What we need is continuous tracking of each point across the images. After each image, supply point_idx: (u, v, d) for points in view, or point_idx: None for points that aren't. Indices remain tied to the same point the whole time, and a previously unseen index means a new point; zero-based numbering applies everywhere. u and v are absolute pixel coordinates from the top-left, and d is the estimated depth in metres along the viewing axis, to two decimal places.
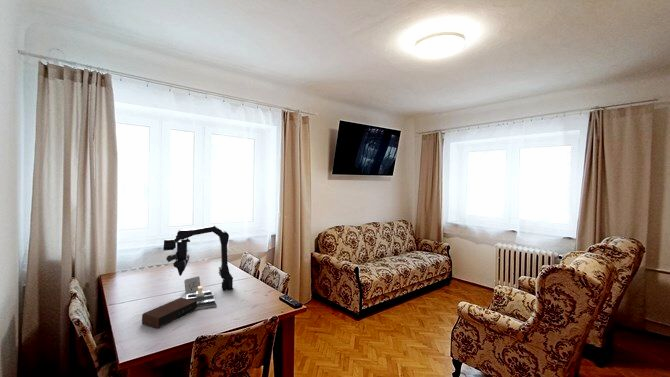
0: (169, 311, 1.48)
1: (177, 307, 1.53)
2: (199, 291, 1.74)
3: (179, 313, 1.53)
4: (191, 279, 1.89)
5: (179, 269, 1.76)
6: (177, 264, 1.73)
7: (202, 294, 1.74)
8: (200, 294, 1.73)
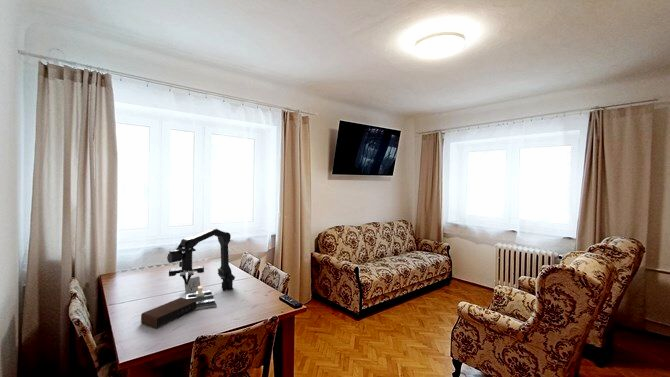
0: (167, 311, 1.48)
1: (176, 307, 1.52)
2: (199, 291, 1.74)
3: (178, 313, 1.52)
4: (191, 279, 1.89)
5: None
6: None
7: (202, 294, 1.74)
8: (200, 294, 1.73)
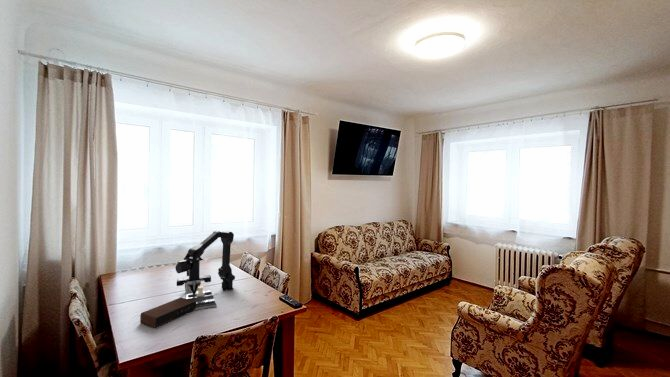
0: (166, 311, 1.48)
1: (176, 307, 1.52)
2: (199, 291, 1.74)
3: (177, 313, 1.52)
4: None
5: None
6: None
7: (202, 294, 1.74)
8: (200, 294, 1.74)
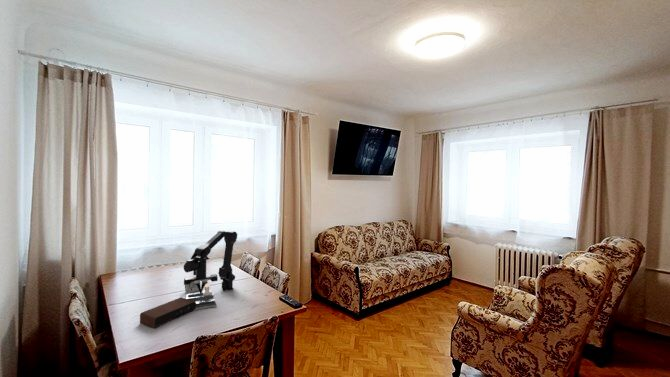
0: (166, 311, 1.48)
1: (175, 307, 1.52)
2: (206, 290, 1.75)
3: (177, 313, 1.52)
4: None
5: None
6: None
7: (209, 293, 1.76)
8: (207, 293, 1.75)
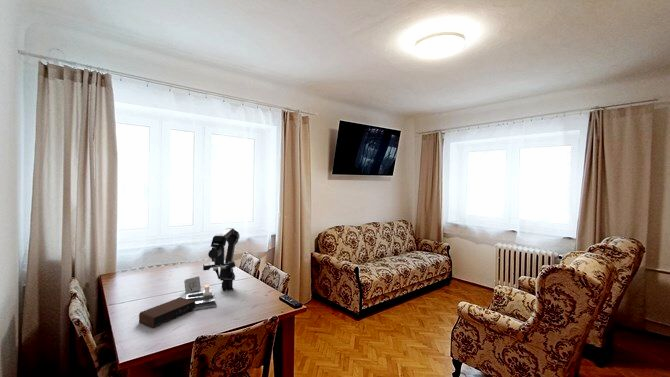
0: (165, 311, 1.48)
1: (174, 307, 1.53)
2: (206, 290, 1.75)
3: (176, 313, 1.52)
4: (191, 279, 1.89)
5: None
6: None
7: (209, 293, 1.76)
8: (207, 293, 1.75)
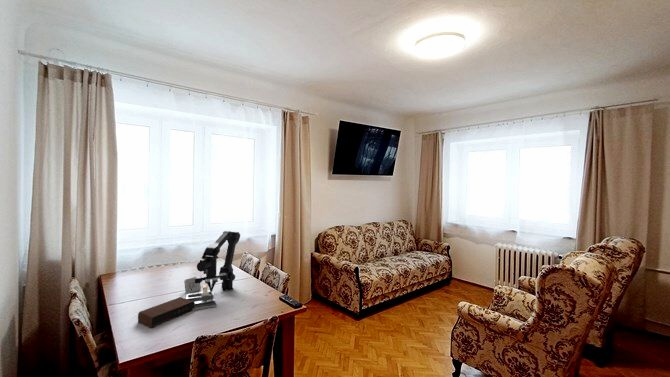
0: (163, 311, 1.48)
1: (173, 307, 1.53)
2: (204, 290, 1.75)
3: (175, 313, 1.52)
4: (191, 279, 1.89)
5: None
6: None
7: (207, 293, 1.75)
8: (205, 293, 1.75)
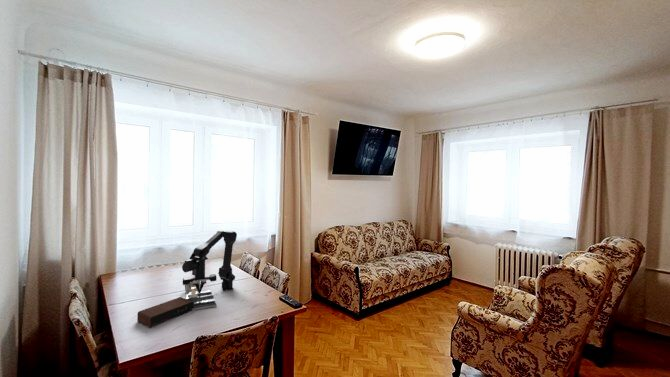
0: (162, 311, 1.48)
1: (172, 307, 1.53)
2: (192, 292, 1.72)
3: (174, 313, 1.52)
4: None
5: None
6: None
7: (195, 295, 1.72)
8: (193, 295, 1.72)
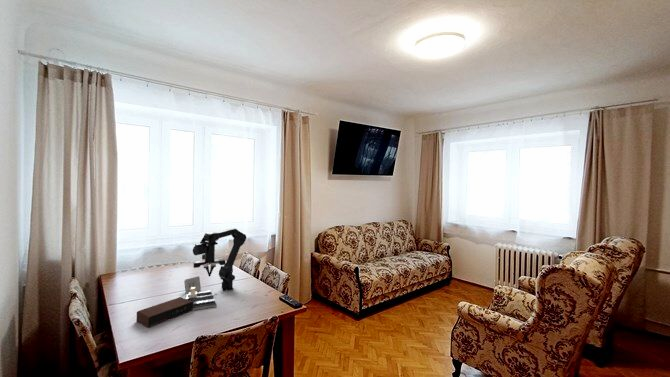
0: (161, 311, 1.48)
1: (171, 307, 1.52)
2: (192, 292, 1.72)
3: (172, 313, 1.52)
4: (191, 279, 1.89)
5: (207, 269, 1.83)
6: None
7: (195, 295, 1.72)
8: (193, 295, 1.72)
